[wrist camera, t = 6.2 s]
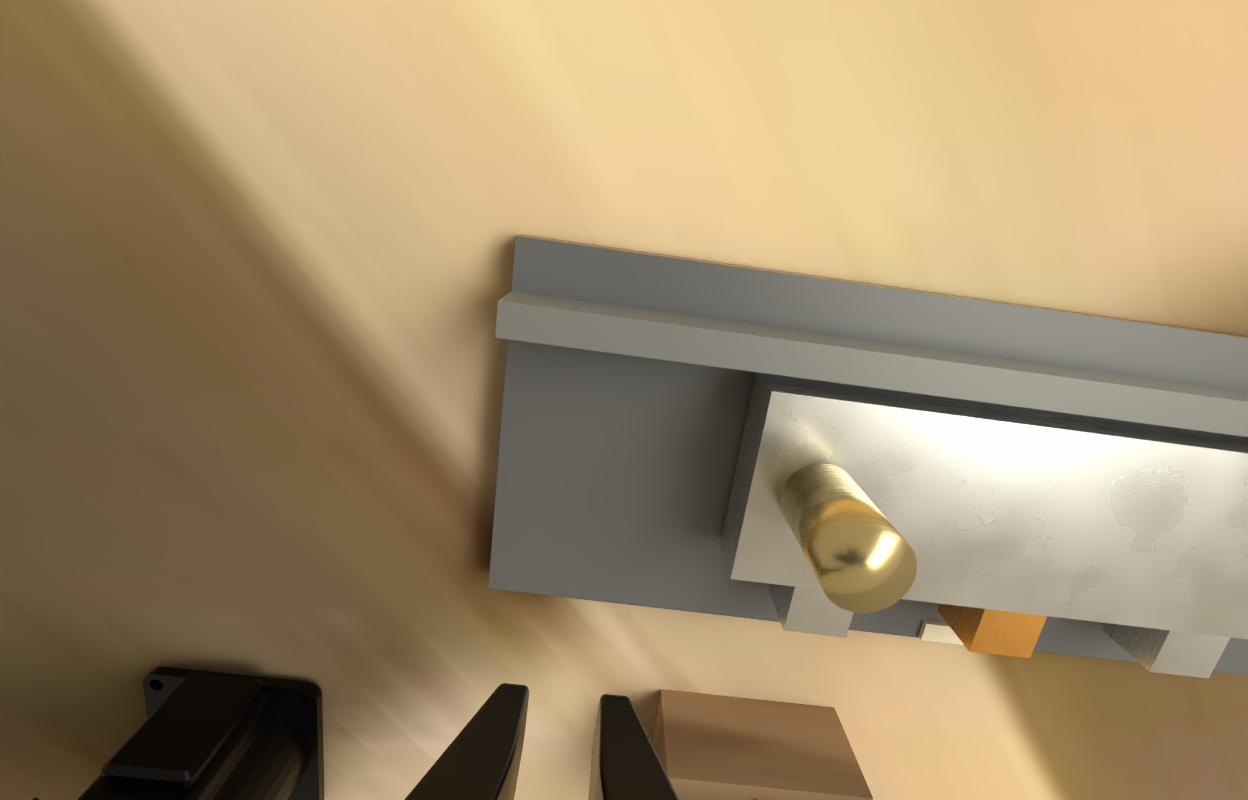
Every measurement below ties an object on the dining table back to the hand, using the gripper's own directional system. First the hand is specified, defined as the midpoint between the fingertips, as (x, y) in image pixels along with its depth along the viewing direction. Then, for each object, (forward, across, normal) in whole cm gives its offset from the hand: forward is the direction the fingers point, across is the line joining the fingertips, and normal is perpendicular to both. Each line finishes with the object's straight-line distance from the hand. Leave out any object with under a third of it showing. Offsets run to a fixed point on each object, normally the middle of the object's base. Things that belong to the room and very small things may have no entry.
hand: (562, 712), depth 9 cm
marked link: (+12, -7, +13) cm, 19 cm away
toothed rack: (+11, -14, +1) cm, 17 cm away
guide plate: (+12, -11, 0) cm, 16 cm away
